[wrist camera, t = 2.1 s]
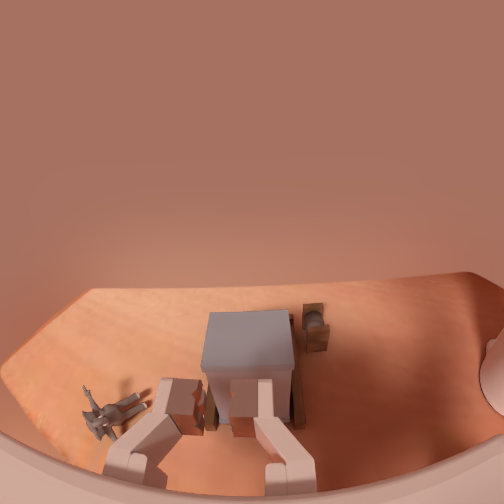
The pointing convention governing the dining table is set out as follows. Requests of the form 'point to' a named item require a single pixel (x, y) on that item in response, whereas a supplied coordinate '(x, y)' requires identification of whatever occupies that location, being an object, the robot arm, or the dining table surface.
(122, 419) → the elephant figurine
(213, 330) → the gray rectangular block
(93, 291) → the dining table surface
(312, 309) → the bay
